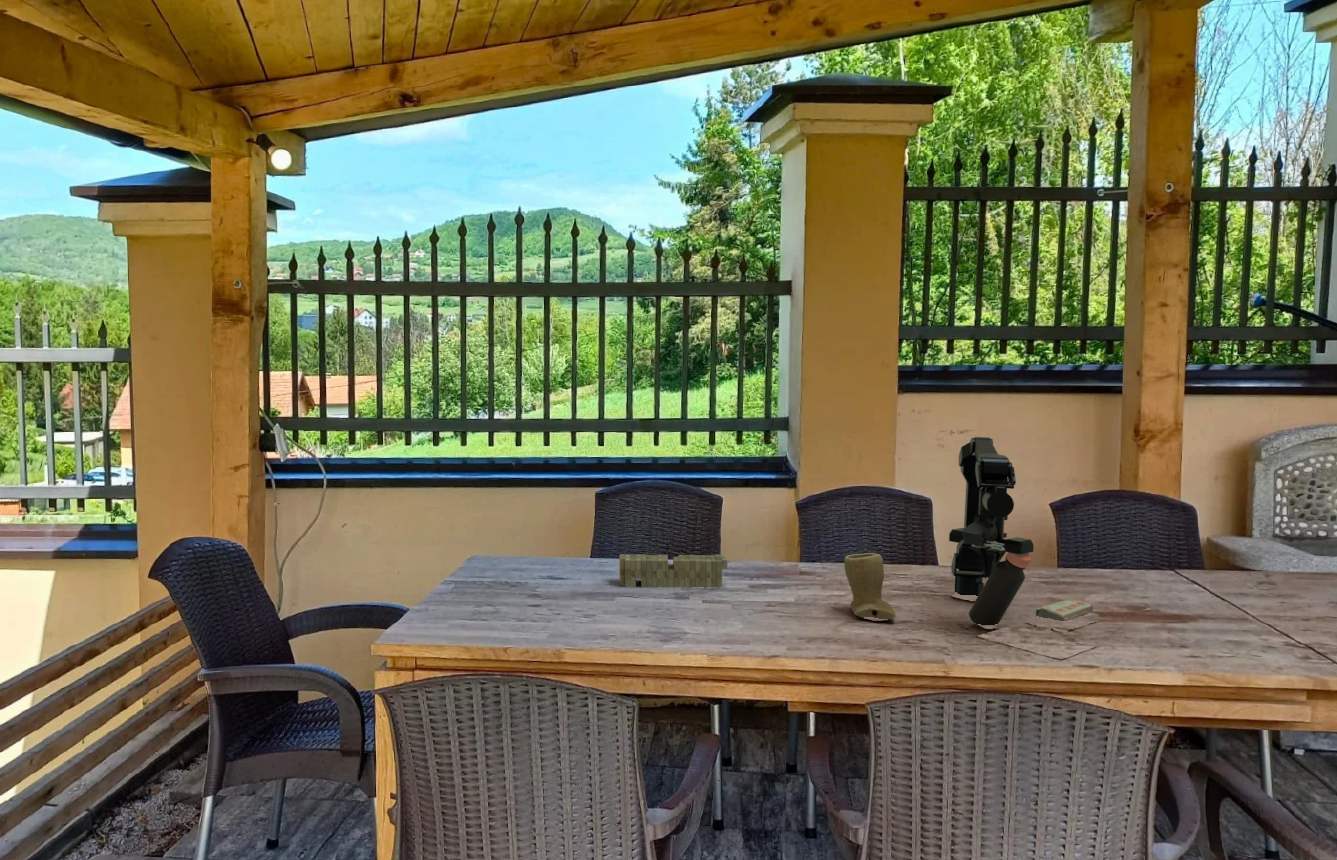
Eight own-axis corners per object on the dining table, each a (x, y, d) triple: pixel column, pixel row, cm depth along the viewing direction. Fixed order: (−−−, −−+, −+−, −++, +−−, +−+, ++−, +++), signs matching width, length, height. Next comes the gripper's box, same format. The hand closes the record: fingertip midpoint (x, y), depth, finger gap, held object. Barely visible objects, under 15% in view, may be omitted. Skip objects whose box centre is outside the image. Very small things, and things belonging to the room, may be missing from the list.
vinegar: (997, 634, 210) (1037, 567, 201) (969, 623, 211) (1007, 556, 202) (994, 617, 216) (1033, 551, 207) (967, 607, 217) (1004, 540, 208)
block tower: (619, 591, 244) (728, 589, 245) (619, 560, 244) (727, 558, 244) (620, 584, 252) (725, 582, 253) (619, 554, 251) (725, 552, 252)
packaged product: (1062, 594, 229) (1102, 603, 221) (1061, 613, 229) (1101, 623, 222) (1024, 605, 218) (1065, 615, 210) (1023, 625, 218) (1063, 635, 210)
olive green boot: (840, 605, 231) (842, 547, 229) (888, 608, 229) (891, 549, 228) (845, 622, 216) (847, 559, 214) (896, 625, 214) (899, 562, 213)
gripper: (936, 508, 213) (933, 573, 214) (1009, 519, 198) (1005, 590, 200) (964, 504, 220) (961, 568, 221) (1036, 515, 205) (1032, 583, 206)
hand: (988, 577), depth 212 cm, fingers closed
